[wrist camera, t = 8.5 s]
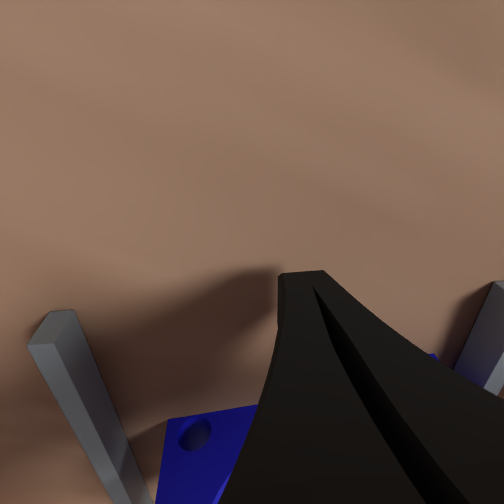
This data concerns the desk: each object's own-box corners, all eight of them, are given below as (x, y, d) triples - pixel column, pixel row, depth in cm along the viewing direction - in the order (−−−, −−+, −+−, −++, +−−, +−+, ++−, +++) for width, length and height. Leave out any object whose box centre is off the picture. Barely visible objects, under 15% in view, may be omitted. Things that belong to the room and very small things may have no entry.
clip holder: (514, 280, 12) (565, 317, 10) (410, 488, 20) (427, 528, 18) (49, 311, 11) (16, 358, 9) (144, 516, 19) (136, 561, 17)
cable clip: (431, 350, 14) (557, 524, 8) (418, 410, 16) (510, 575, 11) (158, 396, 14) (120, 594, 9) (185, 449, 16) (168, 629, 11)
